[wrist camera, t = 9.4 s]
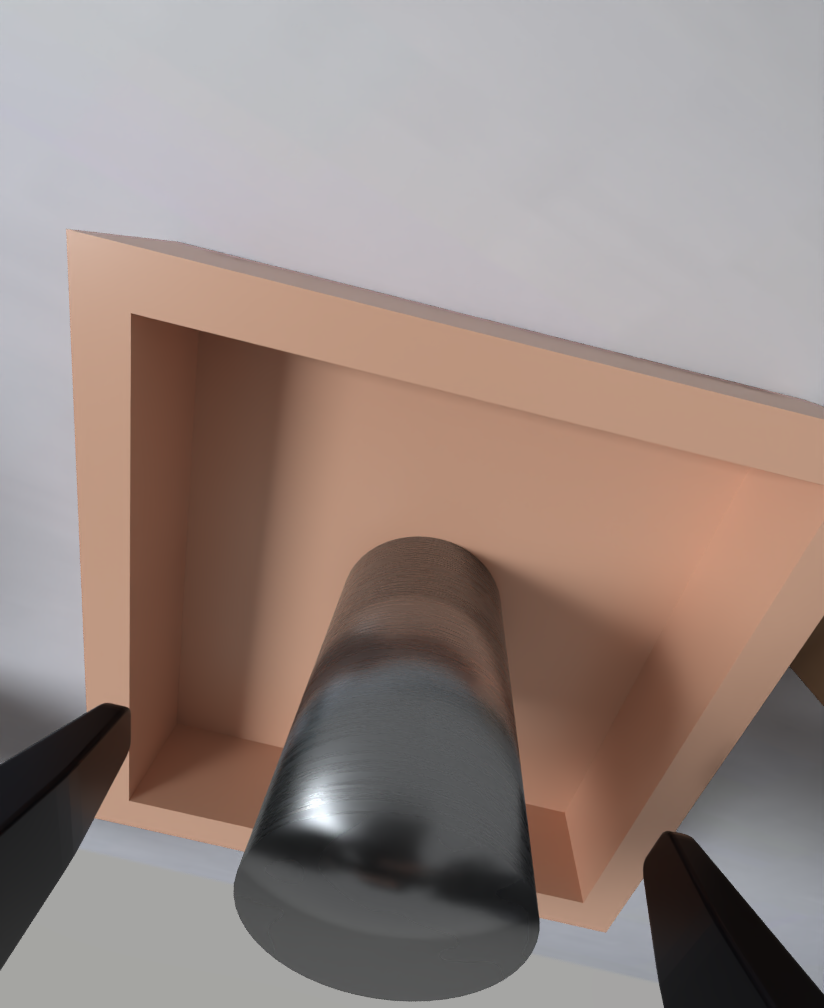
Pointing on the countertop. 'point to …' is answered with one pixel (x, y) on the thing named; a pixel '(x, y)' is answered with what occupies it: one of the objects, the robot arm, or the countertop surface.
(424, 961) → the gunmetal pin
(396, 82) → the countertop surface
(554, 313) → the countertop surface
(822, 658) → the walnut collar
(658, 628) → the terracotta tray
